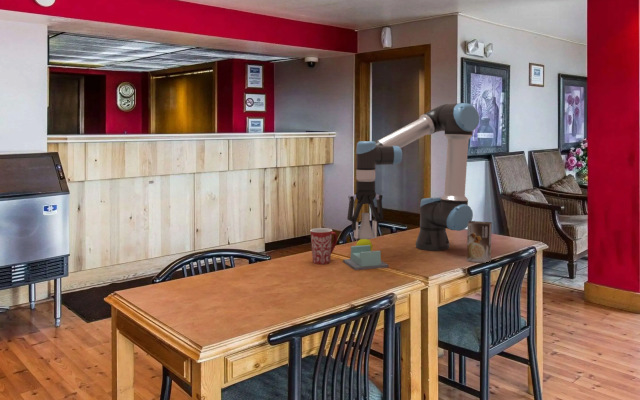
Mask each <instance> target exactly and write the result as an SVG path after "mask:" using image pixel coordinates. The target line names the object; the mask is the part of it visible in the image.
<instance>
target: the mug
mask: <svg viewBox="0 0 640 400" xmlns="http://www.w3.org/2000/svg"><path fill="white" fill-rule="evenodd" d="M309 231H310V241H311V254H312V255H311V257H312V263H313V264H316V265H326V264H330V263H331V258H332V256H331V255H332V253H333V252H334V249H335V248H336V245H337V242H338V235H337V232H335V231H333V229H331V228H327V227H317V228H311V229H310V230H309ZM332 236H333V240H332ZM332 241H333V242H332Z"/></svg>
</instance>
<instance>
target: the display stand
mask: <svg viewBox="0 0 640 400" xmlns="http://www.w3.org/2000/svg"><path fill="white" fill-rule="evenodd" d="M381 254H382V253H381V250H372V251H370V245H363V246H356V245H352V246H350V258H347V259H342V261H343V263H344V264H346V265H347V266H348V267H350V268H351V269H352V270H354V271H360V270H361V271H362V270H372V269H384V268H385V269H386V268H389V264H387V263H386V262H384V261H383V260H382V258H381V257H382V255H381Z"/></svg>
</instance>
